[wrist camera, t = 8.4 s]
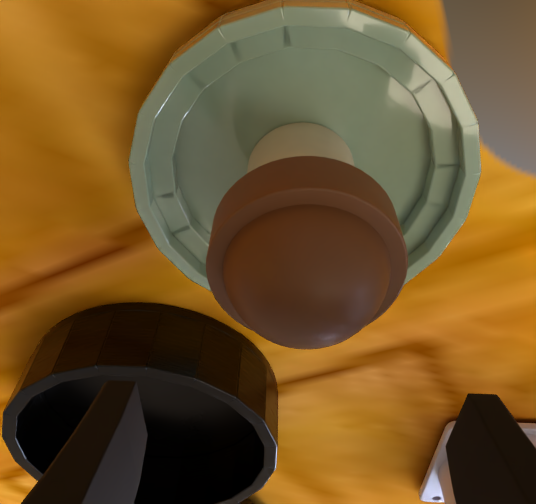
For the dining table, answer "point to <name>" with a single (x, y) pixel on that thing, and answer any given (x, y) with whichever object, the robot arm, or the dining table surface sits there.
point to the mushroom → (305, 242)
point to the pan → (155, 399)
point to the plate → (304, 120)
